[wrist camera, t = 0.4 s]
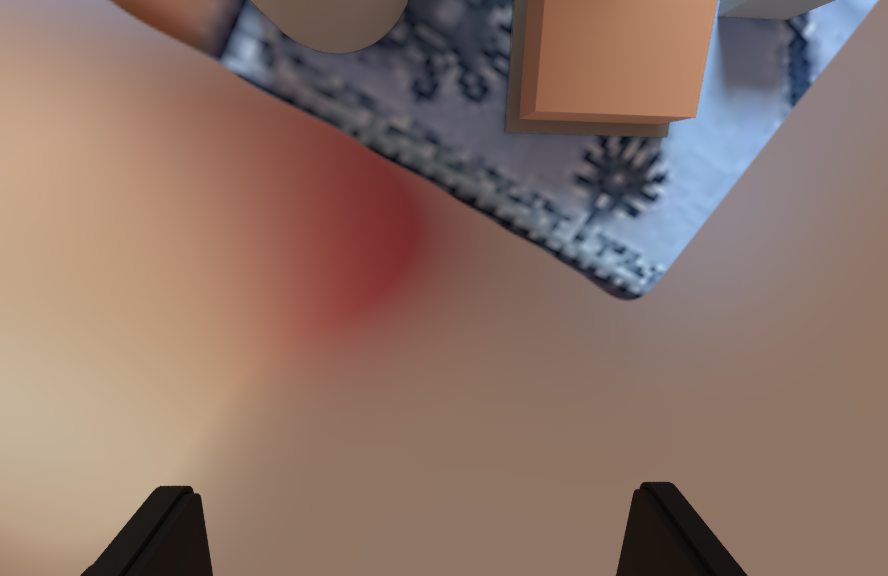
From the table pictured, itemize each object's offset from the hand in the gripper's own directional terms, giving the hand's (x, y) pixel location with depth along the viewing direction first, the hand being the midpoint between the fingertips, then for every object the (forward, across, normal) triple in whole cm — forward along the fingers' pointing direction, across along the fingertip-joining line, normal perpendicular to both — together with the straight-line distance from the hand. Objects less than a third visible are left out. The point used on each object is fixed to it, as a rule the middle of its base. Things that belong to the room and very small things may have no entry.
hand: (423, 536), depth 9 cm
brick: (+29, -14, -16) cm, 36 cm away
